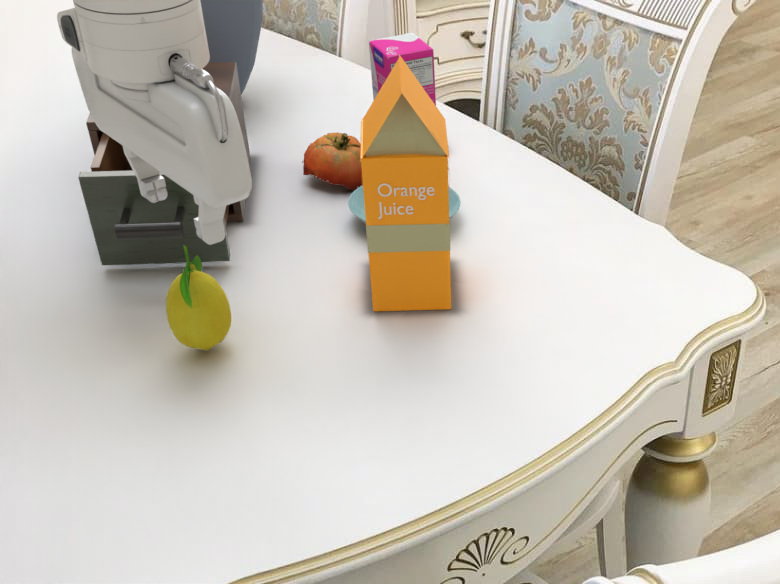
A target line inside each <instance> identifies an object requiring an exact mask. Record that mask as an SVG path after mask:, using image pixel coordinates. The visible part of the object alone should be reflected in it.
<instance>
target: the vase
mask: <svg viewBox="0 0 780 584" xmlns="http://www.w3.org/2000/svg"><path fill="white" fill-rule="evenodd" d="M200 1H201V7H202V13H203V19H204V25H205V31H206V36H207V42H208V48H209V54H210V59H209V62H208V63H213V62H236V65H237V72H238V78H239V85H240V91H241V96H242V95H243V93H244V91H245V89H246V87H247V84H248V82H249V79H250V77H251V74H252V72H253V70H254V66H255V63H256V57H257V52H258V47H259V41H260V36H261V30H262V25H263V12H264V11H263V7H264V6H263V4H264V2H263V0H200Z"/></svg>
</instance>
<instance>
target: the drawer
mask: <svg viewBox="0 0 780 584" xmlns="http://www.w3.org/2000/svg"><path fill="white" fill-rule="evenodd" d="M90 170H91V171H80V172H79V174H78V181H79V184H80V189H81V192H82V196H83V200H84V204H85V208H86V211H87V214H88V219H89V222H90V226H91V229H92V230H91V231H92V233H93V237H94V241H95V245H96V248H97V252H98V256H99V259H100V263H101V266H125V265H126V266H128V265H129V266H130V265H155V264H156V265H158V264H184V263H187V261H186V256H185V251H184V246H183V245H185V246H186V247H187V251H188V256H189V262H192V261H193V260H194V258H195V256H196V255H198V256H199V258H200V260H201V263H213V262H215V263H216V262H230V261H231V249H230V246H229V245H230V244H229V238H228V234H227V233H228V232H227V228H228V222H227V220H228V213H229V206H230V204H229V205H226V209H225V213H224V217H223V225H224V231H225V238H224V240H223V241H221V242H218V243H215V244H212V245H209V244H207V243H205V242H204V241H203V240H202V239H200V238H199V237H198V236H197V233H196V227H195V223H194V218H197V217H198V214H199V205H197V204H196V203H195V201H194V196H193V194H191V193H190V192H188V191H187V190H185V189H184V188H183V187H181V186H180V185H178V184H177V183H175V182H174V181H173V180H171V179H170V178H168V177H167V176H165V175H164V174H163V173H161V172H160V171H159V173H160V175H161V176H162V177H164V179H165V183H166V190H167V193H168V196H167V198H166V199H165V200H162V201H158V202H156V203H151V202H150V201H149V200H147V199H146V198H144V197H143V196H142V195H141V193H140V189H139V184H138V180H137V177H136V176H135V174H134V172H133V170H132V168H131V166H130V164H129V162H128V160H127V158H126V156H125V154H124V150H123V146H122V145H121V144H120V143H118V142H117V141H115V140H114V139H112V138H111V137H110V136H108V135H107V134H105V133H104V132H103V134H102V137H101V140H100V143H99V145H98V148H97V151H96V154H95V155H94V157H93V159H92V163H91V166H90Z"/></svg>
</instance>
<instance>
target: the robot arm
mask: <svg viewBox="0 0 780 584" xmlns="http://www.w3.org/2000/svg"><path fill="white" fill-rule="evenodd" d="M72 2H73V7H72V8H68V9H65V10H61V11H58V12H57V14H56V20H57V25H58V28H59V29H58V30H59V32H60V36H61V38H62V40H63V41H64V42H65V44H67V45H68V46H70V47H71V57H72V61H73V64H74V68H75V72H76V75H77V79H78V81H79V86H80V88H81V89H80V90H81V92H82V94H83V98H84V101H85V105H86V106H87V110H88V112H89V114H91V116H92V118H93V120H94V122H95V123H96V125H97V127H98V128H99V129H100V130H101V131H102V132H104V133H105V134H107V135H108V136H110V137H111V138H112V139H114V140H115V141H117V142H118V143H120V144H121V145H122V146H123V150H124V154H125V156H126V158H127V160H128V162H129V164H130V166H131V168H132V170H133V172H134V174H135V176H136V177H137V180H138V184H139V189H140V193H141V195H142V196H143V197H144V198H146V199H147V200H149V201H150V202H151V203H156V202H158V201H162V200H165V199H166V198H167V196H168V193H167V190H166V183H165V179H164V177H162V176H161V175H160V173H159V171H160V172H161V173H163V174H164V175H165V176H167V177H168V178H170V179H171V180H173V181H174V182H175V183H177V184H178V185H180V186H181V187H183V188H184V189H185V190H187V191H188V192H190V193H191V194H193V196H194V201H195V203H196V204H197V205H199V214H198V217H197V218H194V223H195V227H196V233H197V236H198V237H199V238H200V239H202V240H203V241H204V242H205V243H207V244H209V245H212V244H215V243H218V242H221V241H223V240H224V238H225V231H224V225H223V217H224V213H225V209H226V205H229V204H232V203H235V202H238V201H241V200H243V199H246V200H247V199H248V198H249V197H250V194H251V192H252V189H253V178H252V173H251V168H250V167H251V166H250V167H249V163H248V158H247V153H246V149H245V144H244V140H243V136H242V132H241V128H240V124H239V121H238V117H237V114H236V111H235V109H234V106H233V104H232V102H231V101H230V99H229V98H228V96H227V95H226V94H225V93H224V92H223V91H222V90H220V89H219V88H217V87H215V85H214V84H213V78H212V76H211V75H210V74H209V73H208V72H207V71H205V70H203V68H204V67H205V66H206V65H207V64H208V62H209V59H210V54H209V48H208V42H207V36H206V31H205V25H204V19H203V13H202V7H201V1H200V0H72Z"/></svg>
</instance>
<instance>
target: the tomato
mask: <svg viewBox="0 0 780 584" xmlns="http://www.w3.org/2000/svg"><path fill="white" fill-rule="evenodd" d="M360 145H361V141H359V140H358V138H357V137H355V136H353V135H348V133H347V132H343V133H342V132H328V133H326V134H323V135H322V136H320V137H317V138H316V139H315V140H314V141H312V142H311V143H309V144H308V146H307V148H306V150H305V151H304V152H303V160H302V161H301V162H302V163H303V168H302V169H303V176H309V175H310V176H313V177H314V178H316V179H317V180H319V179H320V181H321V182H323V183H326V182H327V183H328V184H331V185H332V186H335V185H336V186H343V187H344V188H346V189H348V190H350V191H355V190H356V189H357V188H359V187H360V186H362V185H363V180H362V168H361V161H360Z"/></svg>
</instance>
